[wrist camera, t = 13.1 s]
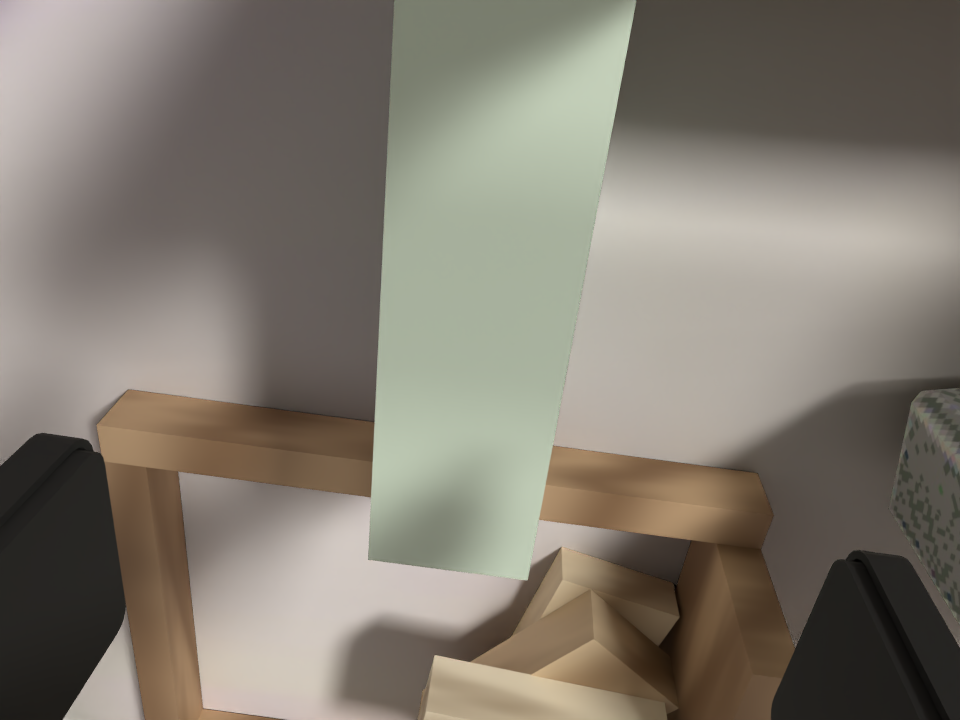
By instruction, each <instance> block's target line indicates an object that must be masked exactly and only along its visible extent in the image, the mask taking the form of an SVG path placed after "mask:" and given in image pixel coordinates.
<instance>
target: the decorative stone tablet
mask: <svg viewBox="0 0 960 720" xmlns="http://www.w3.org/2000/svg"><path fill="white" fill-rule="evenodd" d="M888 509H889V510H890V512H891V514H892V515H893V517H894V518H895V520H896V522H897V523H898V525H899V527H900V528H901V530H902V532H903V533H904V535H905V536H906V538H907V540H908V541H909V543H910V545H911V546H912V548H913V550H914V551H915V553H916V555H917V556H918V558H919V559H920V561H921V563H922V564H923V566H924V568H925V569H926V571H927V573H928V574H929V576H930V578H931V579H932V581H933V582H934V584H935V586H936V587H937V589H938V591H939V592H940V594H941V596H942V597H943V599H944V601H945V602H946V604H947V605H948V607H949V609H950V610H951V612H952V614H953V615H954V617H955V619H956V620H957V622H958V624H959V625H960V388H953V389H937V390H927V391H921V392H920V393H919V394H918V395H917V396H916V398H915V399H914V400H913V401H912V403H911V407H910V412H909V416H908V421H907V426H906V430H905V435H904V439H903V444H902V448H901V453H900V458H899V462H898V467H897V471H896V476H895V480H894V485H893V490H892V494H891V499H890V503H889V508H888Z"/></svg>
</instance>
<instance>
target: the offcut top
mask: <svg viewBox="0 0 960 720" xmlns="http://www.w3.org/2000/svg"><path fill="white" fill-rule="evenodd" d="M417 720H667V714H666V708H665V702H660V701H655V700H650V699H645V698H640V697H635V696H630V695H625V694H620V693H616V692H611V691H606V690H601V689H596V688H591V687H586V686H581V685H576V684H571V683H566V682H561V681H556V680H552V679H547V678H542V677H537V676H532V675H530V674H525V673H520V672H515V671H510V670H506V669H501V668H496V667H491V666H486V665H481V664H476V663H471V662H467V661H462V660H457V659H452V658H447V657H442V656H437V655H434V659H433V663H432V666H431V670H430V674H429V678H428V681H427V685H426V689H425V692H424V696H423V700H422V704H421V707H420V711H419V715H418V718H417Z"/></svg>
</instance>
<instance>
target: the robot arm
mask: <svg viewBox="0 0 960 720" xmlns="http://www.w3.org/2000/svg"><path fill="white" fill-rule="evenodd" d="M125 608H126V603H125V595H124V588H123V582H122V575H121V568H120V562H119V555H118V548H117V541H116V535H115V528H114V521H113V514H112V508H111V501H110V494H109V488H108V481H107V474H106V467H105V462H104V458H103V456H102V455H101V454H100V453H98V452H94V451H93V448H92V445H91V444H90V443H89V441H88V440H85V439H81V438H74V437H67V436H60V435H53V434H47V433H40V434H36V435H34V436H33V437H31V438H30V439H29V440H28V441H27V442H26V443H25V444H24V445H22V446H21V447H20V448H19V449H18V450H17V451H16V452H15V453H14V454H13V455H12V456H11V457H10V458H9V459H8V460H7V461H5V462H4V463H3V464H2V465H1V466H0V720H63V718H64V716H65V715H66V713H67V712H68V710H69V709H70V707H71V705H72V704H73V702H74V701H75V699H76V698H77V696H78V694H79V693H80V691H81V690H82V688H83V687H84V685H85V683H86V682H87V680H88V679H89V677H90V676H91V674H92V672H93V671H94V669H95V668H96V666H97V665H98V663H99V661H100V660H101V658H102V657H103V655H104V654H105V652H106V650H107V649H108V647H109V646H110V644H111V643H112V641H113V639H114V638H115V636H116V635H117V633H118V631H119V629H120V627H121V625H122V622H123V619H124V615H125ZM771 720H960V648H959V646H958V644H957V642H956V641H955V639H954V637H953V635H952V634H951V632H950V630H949V629H948V627H947V625H946V623H945V622H944V620H943V618H942V616H941V615H940V613H939V611H938V609H937V608H936V606H935V604H934V602H933V601H932V599H931V597H930V596H929V594H928V592H927V590H926V589H925V587H924V585H923V583H922V582H921V580H920V578H919V576H918V575H917V573H916V571H915V569H914V568H913V566H912V565H911V563H910V562H909V561H908V560H907V559H906V558H904V557H902V556H896V555H889V554H882V553H875V552H868V551H861V550H856V551H853V552H851V553H850V554H849V555H848V557H847V559H846V560H842V559H841V560H837V561H835V562H834V563H833V565H832V567H831V569H830V571H829V573H828V576H827V578H826V580H825V582H824V585H823V587H822V589H821V591H820V594H819V596H818V598H817V601H816V603H815V605H814V607H813V610H812V612H811V614H810V616H809V619H808V621H807V623H806V626H805V628H804V630H803V632H802V635H801V637H800V639H799V641H798V644H797V646H796V648H795V651H794V653H793V655H792V657H791V660H790V662H789V664H788V666H787V669H786V671H785V673H784V676H783V678H782V680H781V682H780V685H779V687H778V689H777V691H776V694H775V696H774V699H773V702H772V707H771Z"/></svg>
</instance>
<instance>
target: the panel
mask: <svg viewBox="0 0 960 720" xmlns="http://www.w3.org/2000/svg"><path fill="white" fill-rule="evenodd" d="M635 6H636V0H394V15H393V36H392V58H391V79H390V101H389V122H388V144H387V166H386V187H385V209H384V230H383V252H382V273H381V295H380V316H379V338H378V359H377V381H376V403H375V424H374V446H373V467H372V489H371V510H370V532H369V553H368V560H374V561H382V562H389V563H397V564H405V565H412V566H420V567H428V568H435V569H443V570H451V571H458V572H466V573H474V574H481V575H489V576H497V577H504V578H512V579H520V580H527V581H528V575H529V570H530V565H531V559H532V554H533V549H534V543H535V538H536V533H537V527H538V522H539V517H540V511H541V506H542V501H543V496H544V490H545V485H546V480H547V474H548V469H549V464H550V458H551V453H552V448H553V442H554V437H555V432H556V426H557V421H558V416H559V410H560V405H561V400H562V394H563V389H564V384H565V378H566V373H567V368H568V362H569V357H570V352H571V346H572V341H573V336H574V330H575V325H576V320H577V315H578V309H579V304H580V299H581V293H582V288H583V283H584V277H585V272H586V267H587V261H588V256H589V251H590V245H591V240H592V235H593V229H594V224H595V219H596V213H597V208H598V203H599V197H600V192H601V187H602V181H603V176H604V171H605V165H606V160H607V155H608V150H609V144H610V139H611V134H612V128H613V123H614V118H615V112H616V107H617V102H618V96H619V91H620V86H621V80H622V75H623V70H624V64H625V59H626V54H627V48H628V43H629V38H630V32H631V27H632V22H633V16H634V11H635Z"/></svg>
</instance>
